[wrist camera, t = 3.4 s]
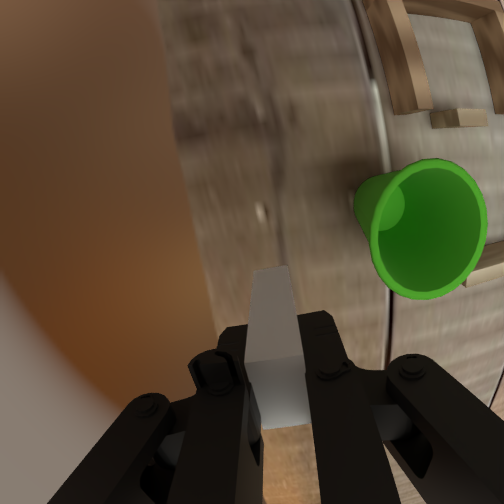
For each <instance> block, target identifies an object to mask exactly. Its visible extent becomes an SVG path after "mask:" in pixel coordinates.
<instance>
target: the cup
mask: <svg viewBox="0 0 504 504" xmlns="http://www.w3.org/2000/svg"><path fill="white" fill-rule="evenodd" d="M354 212H355V216H356V218H357V220H358V222H359V224H360V226H361V228H362V230H363V232H364V234H365V236H366V238H367V240H368V242H369V247H370V253H371V258H372V262H373V264H374V267H375V269H376V271H377V273H378V275H379V277H380V278H381V279H382V281H383V282H384V283H385V284H386V285H387V287H388V288H390V289H391V290H393V291H394V292H396V293H397V294H398V295H400V296H403V297H407V298H410V299H415V300H429V299H433V298H437V297H441V296H443V295H445V294H447V293H449V292H450V291H452V290H454V289H455V288H456V287H458V286H459V285H460V284H461V283H462V282H463V281H465V280H466V278H467V277H468V276H469V275H470V273H471V272H472V271H473V269H474V268H475V266H476V264H477V262H478V260H479V258H480V256H481V254H482V251H483V248H484V245H485V241H486V235H487V226H488V222H487V210H486V205H485V202H484V199H483V195H482V193H481V191H480V189H479V187H478V186H477V184H476V182H475V180H474V179H473V178H472V177H471V176H470V175H469V174H468V173H467V172H466V171H465V170H464V169H463V168H462V167H460V166H458V165H457V164H455V163H453V162H451V161H447V160H443V159H439V158H433V159H422V160H419V161H417V162H414V163H412V164H409V165H407V166H406V167H405V168H403V169H402V170H398V171H394V172H390V173H386V174H382V175H377V176H374V177H371V178H369V179H367V180H366V181H364V182H363V183H362V184H361V185H360V187H359V188H358V190H357V192H356V194H355V198H354Z"/></svg>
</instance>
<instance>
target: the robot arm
mask: <svg viewBox="0 0 504 504" xmlns="http://www.w3.org/2000/svg"><path fill="white" fill-rule="evenodd" d="M188 368H189V371H190V373H191V376H192V378H193V381H194V383H195V386H196V388H197V391H196V394H195V395H193V396H191V397H188V398H186V399H182V400H178V401H175V402H171V403H170V402H169V400H168V399H167V398H166V397H165V396H164V395H162V394H159V393H147V394H143V395H141V396H139V397H137V398H135V399H133V400H132V401H131V402H130V403H129V404H128V405H127V406H126V408H125V409H124V410H123V411H122V412H121V414H120V415H119V416H118V417H117V419H116V420H115V421H114V422H113V423H112V425H111V426H110V427H109V428H108V430H107V431H106V432H105V433H104V434H103V436H102V437H101V438H100V439H99V441H98V442H97V443H96V444H95V446H94V447H93V448H92V449H91V451H90V452H89V453H88V454H87V455H86V456H85V458H84V459H83V460H82V462H81V463H80V464H79V465H78V466H77V468H76V469H75V470H74V471H73V472H72V474H71V475H70V476H69V477H68V479H67V480H66V481H65V482H64V483H63V485H62V486H61V487H60V488H59V490H58V491H57V492H56V493H55V495H54V496H53V497H52V498H51V499H50V501H49V502H48V503H47V504H262V494H263V451H264V443H263V439H262V435H261V423H262V426H263V430H264V429H273V428H281V427H289V426H296V425H303V424H309V423H312V430H313V438H314V446H315V454H316V462H317V470H318V479H319V488H320V497H321V504H401V501H400V498H399V494H398V491H397V487H396V484H395V481H394V477H393V474H392V471H391V468H390V464H389V461H388V458H387V455H386V452H385V449H384V445H385V446H386V448H387V449H388V451H389V452H390V453H391V455H392V456H393V458H394V459H395V460H396V462H397V463H398V465H399V466H400V467H401V469H402V470H403V471H404V473H405V474H406V476H407V477H408V478H409V480H410V481H411V483H412V484H413V485H414V487H415V488H416V490H417V491H418V492H419V494H420V495H421V496H422V498H423V499H424V501H425V502H426V503H427V504H504V421H503V420H502V419H501V418H500V417H499V416H497V415H496V414H495V413H494V412H493V411H492V410H491V409H490V408H488V407H487V406H486V405H485V404H484V403H483V402H482V401H480V400H479V399H478V398H477V397H476V396H475V395H473V394H472V393H471V392H470V391H469V390H468V389H466V388H465V387H464V386H463V385H462V384H461V383H459V382H458V381H457V380H456V379H455V378H454V377H452V376H451V375H450V374H449V373H448V372H446V371H445V370H444V369H443V368H442V367H441V366H439V365H438V364H437V363H436V362H435V361H433V360H432V359H430V358H429V357H427V356H425V355H420V354H406V355H403V356H400V357H397V358H396V359H394V360H393V361H391V363H390V364H389V366H388V367H387V370H365V369H361V368H359V367H357V366H355V364H354V363H353V362H352V361H351V360H349V359H348V357H347V354H346V351H345V349H344V346H343V343H342V340H341V338H340V335H339V333H338V330H337V327H336V325H335V322H334V319H333V317H332V316H331V315H330V314H329V313H327V312H326V311H324V310H322V311H317V312H312V313H306V314H301V315H297V314H296V308H295V303H294V297H293V292H292V286H291V281H290V276H289V270H288V265H284V266H278V267H273V268H267V269H262V270H256V271H254V274H253V283H252V293H251V302H250V312H249V321H248V324H246V325H239V326H232V327H227V328H226V329H225V330H224V331H223V332H222V334H221V335H220V336H219V340H218V346H217V349H212V350H207V351H205V352H203V353H200V354H198V355H197V356H196V357H194V358H193V359H192V360H191V361H190V363H189V364H188ZM382 441H383V442H382ZM383 444H384V445H383Z"/></svg>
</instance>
